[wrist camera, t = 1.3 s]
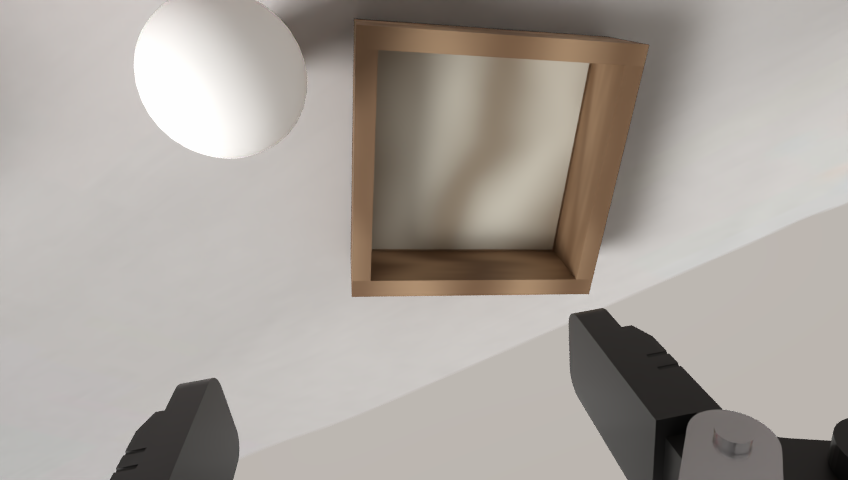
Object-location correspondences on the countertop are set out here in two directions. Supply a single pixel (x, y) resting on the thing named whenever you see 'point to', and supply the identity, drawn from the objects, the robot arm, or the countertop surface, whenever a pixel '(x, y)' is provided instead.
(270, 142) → the lightbulb
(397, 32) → the parts box
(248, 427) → the countertop surface
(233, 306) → the countertop surface
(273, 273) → the countertop surface
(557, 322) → the countertop surface
